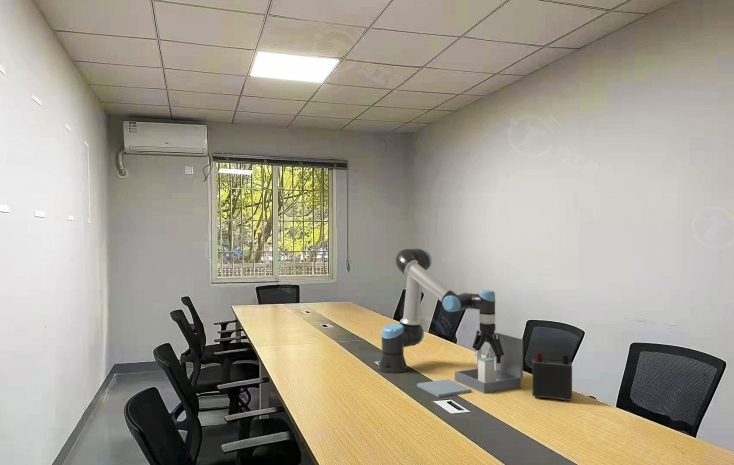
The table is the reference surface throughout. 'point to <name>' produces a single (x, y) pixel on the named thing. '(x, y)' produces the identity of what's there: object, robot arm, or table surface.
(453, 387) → the pad
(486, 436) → the table surface
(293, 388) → the table surface
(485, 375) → the block
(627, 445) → the table surface
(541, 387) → the voltmeter
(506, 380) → the case
